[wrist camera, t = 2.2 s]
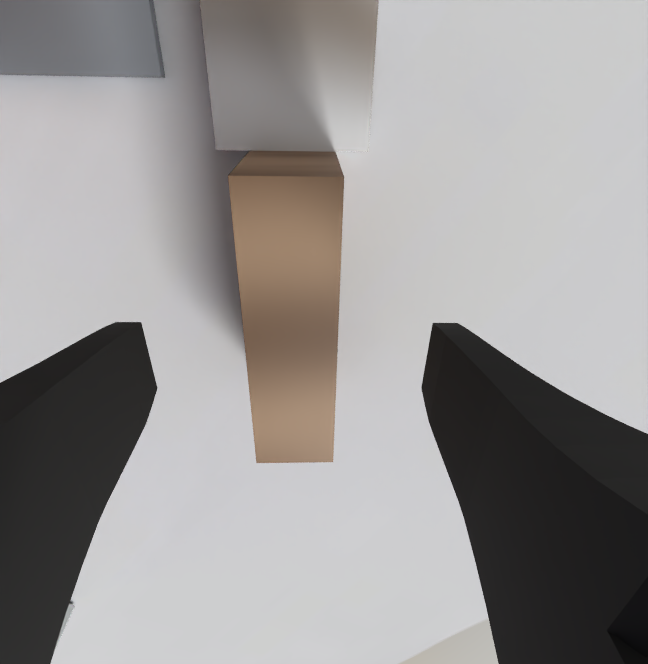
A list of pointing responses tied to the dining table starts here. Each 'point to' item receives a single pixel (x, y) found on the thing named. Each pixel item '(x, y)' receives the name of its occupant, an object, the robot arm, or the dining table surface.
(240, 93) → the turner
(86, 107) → the dining table surface
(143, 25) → the mat
